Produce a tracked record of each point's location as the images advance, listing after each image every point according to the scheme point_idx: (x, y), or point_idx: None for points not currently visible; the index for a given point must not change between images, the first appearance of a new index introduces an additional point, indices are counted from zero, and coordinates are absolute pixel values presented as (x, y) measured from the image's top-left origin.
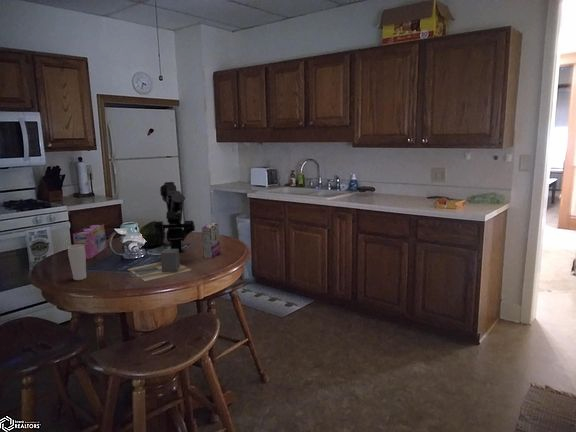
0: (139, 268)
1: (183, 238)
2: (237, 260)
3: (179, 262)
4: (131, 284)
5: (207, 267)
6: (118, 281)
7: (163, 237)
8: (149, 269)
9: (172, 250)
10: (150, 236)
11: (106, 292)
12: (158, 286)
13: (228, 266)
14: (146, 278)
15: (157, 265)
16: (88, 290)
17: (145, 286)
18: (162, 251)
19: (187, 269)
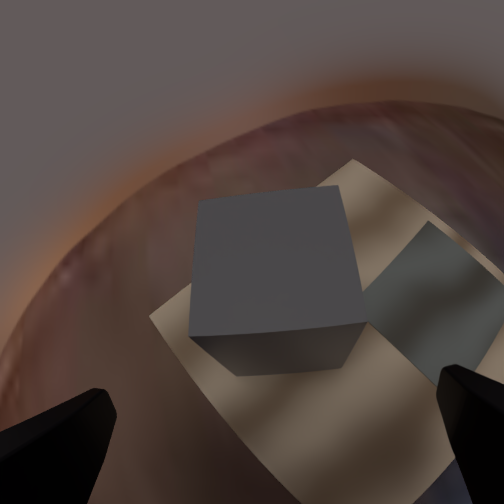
0: (497, 327)
1: (69, 408)
2: None
3: (228, 368)
4: (395, 146)
5: (78, 369)
6: (469, 174)
7: (477, 424)
8: (433, 315)
9: (243, 267)
10: None
11: (423, 103)
12: (272, 134)
13: (7, 364)
14: (366, 184)
15: (421, 408)
16: (484, 120)
17: (325, 132)
18: (345, 232)
19: (175, 323)
